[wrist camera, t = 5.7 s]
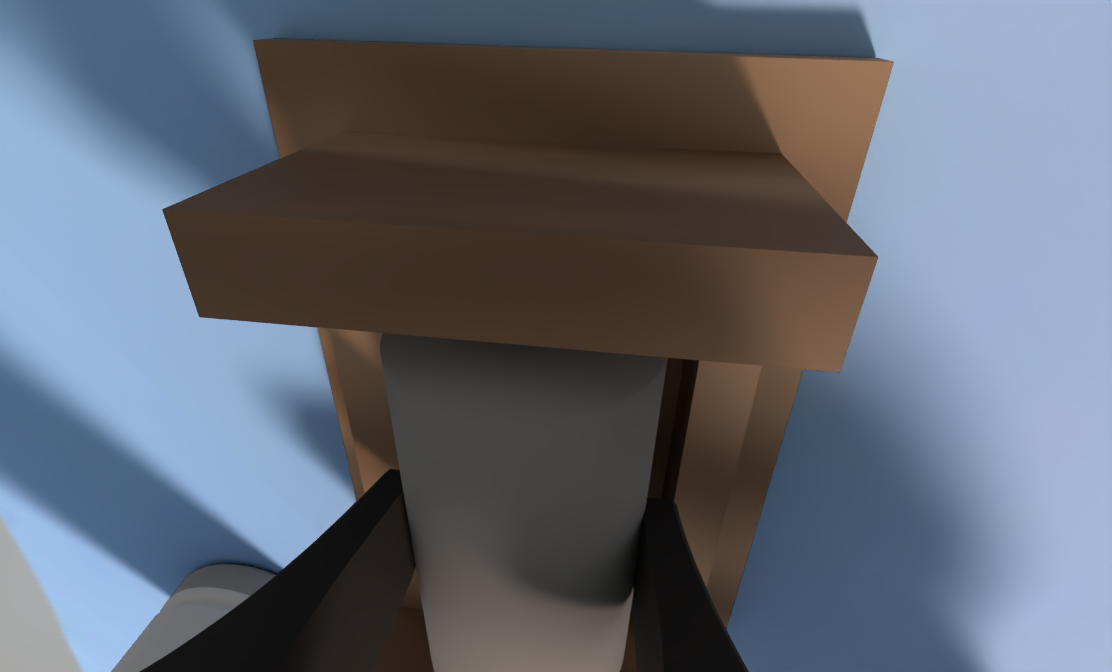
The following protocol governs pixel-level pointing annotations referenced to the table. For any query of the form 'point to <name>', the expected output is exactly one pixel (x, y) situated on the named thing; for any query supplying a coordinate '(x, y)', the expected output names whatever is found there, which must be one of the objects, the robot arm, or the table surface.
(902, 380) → the table surface
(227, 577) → the travel mug
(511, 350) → the roll
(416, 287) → the cradle
